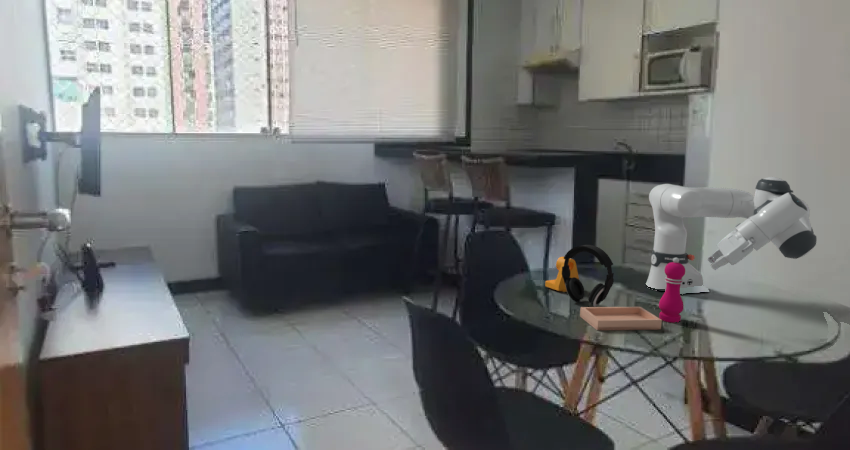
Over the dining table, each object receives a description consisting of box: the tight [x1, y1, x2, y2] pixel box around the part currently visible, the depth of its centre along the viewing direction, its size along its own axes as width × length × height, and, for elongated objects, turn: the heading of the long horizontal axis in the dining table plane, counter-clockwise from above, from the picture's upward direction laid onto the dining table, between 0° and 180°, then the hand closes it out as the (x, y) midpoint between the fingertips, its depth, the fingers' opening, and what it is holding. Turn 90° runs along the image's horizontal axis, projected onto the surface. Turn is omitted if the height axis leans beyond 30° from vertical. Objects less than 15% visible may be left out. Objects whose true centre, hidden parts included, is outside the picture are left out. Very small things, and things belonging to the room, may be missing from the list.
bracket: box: [544, 256, 580, 293], centre depth 218 cm, size 11×7×12 cm, turn 123°
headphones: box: [562, 244, 615, 307], centre depth 199 cm, size 18×8×20 cm, turn 45°
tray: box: [579, 306, 663, 331], centre depth 182 cm, size 20×13×3 cm, turn 98°
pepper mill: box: [658, 258, 685, 324], centre depth 185 cm, size 7×7×20 cm
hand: (710, 264), depth 180 cm, fingers open, 8 cm apart
